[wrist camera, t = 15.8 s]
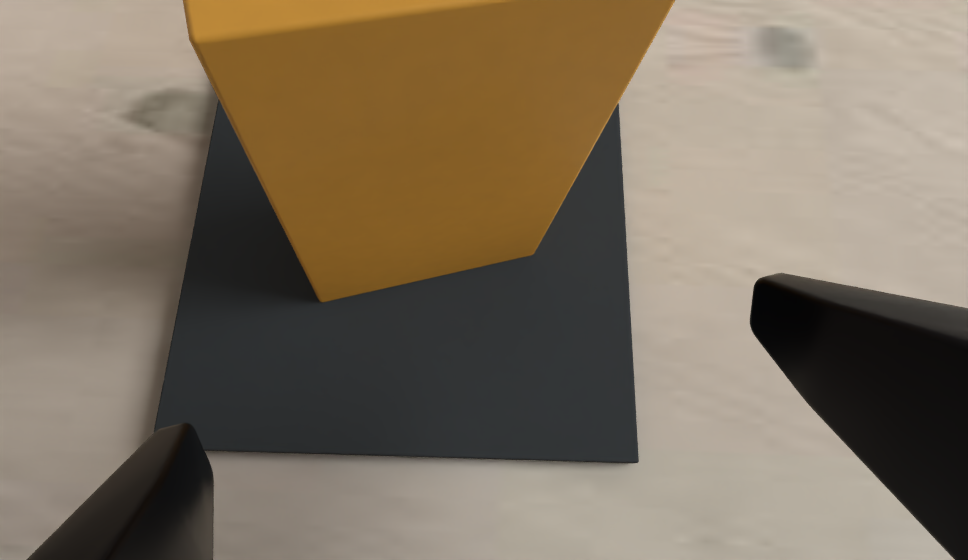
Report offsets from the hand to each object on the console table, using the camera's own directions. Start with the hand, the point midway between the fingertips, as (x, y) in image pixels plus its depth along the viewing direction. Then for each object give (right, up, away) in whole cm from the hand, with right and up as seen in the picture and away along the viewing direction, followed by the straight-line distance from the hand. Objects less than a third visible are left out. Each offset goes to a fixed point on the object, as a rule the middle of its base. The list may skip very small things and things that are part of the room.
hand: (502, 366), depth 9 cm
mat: (-2, +3, +8) cm, 8 cm away
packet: (-2, +3, +7) cm, 8 cm away
